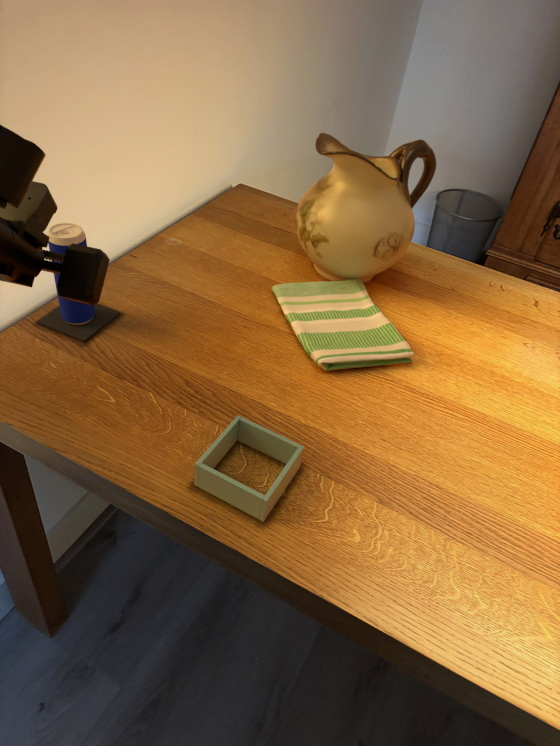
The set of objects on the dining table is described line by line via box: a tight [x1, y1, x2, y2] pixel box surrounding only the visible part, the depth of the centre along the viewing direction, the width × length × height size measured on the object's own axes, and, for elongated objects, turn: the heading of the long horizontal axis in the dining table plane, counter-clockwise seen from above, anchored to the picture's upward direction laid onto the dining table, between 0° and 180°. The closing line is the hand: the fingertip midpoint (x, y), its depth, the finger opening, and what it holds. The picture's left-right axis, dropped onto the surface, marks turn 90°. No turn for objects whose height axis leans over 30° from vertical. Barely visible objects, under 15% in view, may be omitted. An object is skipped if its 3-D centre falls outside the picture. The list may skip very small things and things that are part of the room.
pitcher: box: [294, 132, 437, 284], centre depth 102 cm, size 22×24×25 cm
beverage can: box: [47, 222, 95, 325], centre depth 82 cm, size 5×5×15 cm
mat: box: [36, 302, 121, 343], centre depth 87 cm, size 9×9×1 cm
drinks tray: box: [193, 414, 305, 523], centre depth 66 cm, size 10×10×4 cm
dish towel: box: [271, 278, 415, 372], centre depth 93 cm, size 18×23×3 cm
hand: (57, 280), depth 71 cm, fingers open, 9 cm apart
